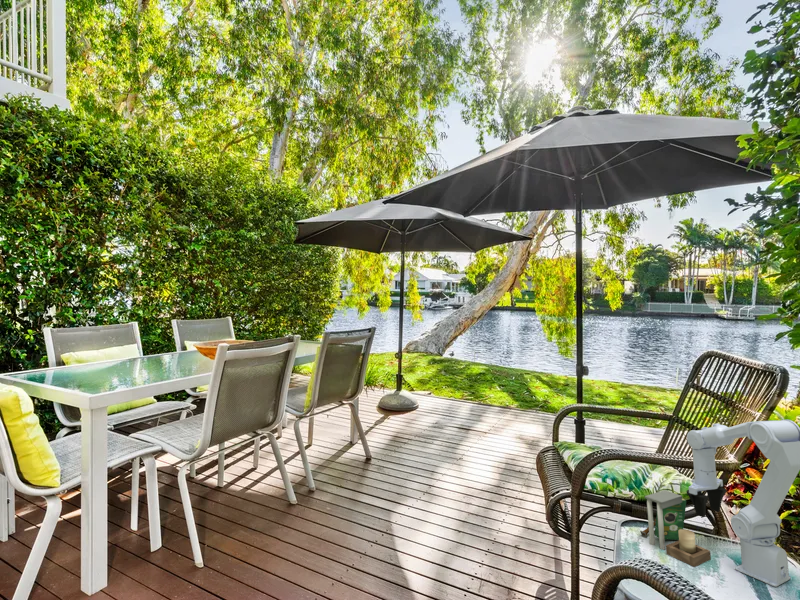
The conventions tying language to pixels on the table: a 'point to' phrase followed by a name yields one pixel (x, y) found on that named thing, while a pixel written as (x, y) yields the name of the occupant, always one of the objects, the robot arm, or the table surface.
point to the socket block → (693, 560)
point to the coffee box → (672, 521)
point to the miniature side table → (660, 512)
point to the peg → (687, 541)
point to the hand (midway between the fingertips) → (708, 513)
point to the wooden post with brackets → (647, 530)
